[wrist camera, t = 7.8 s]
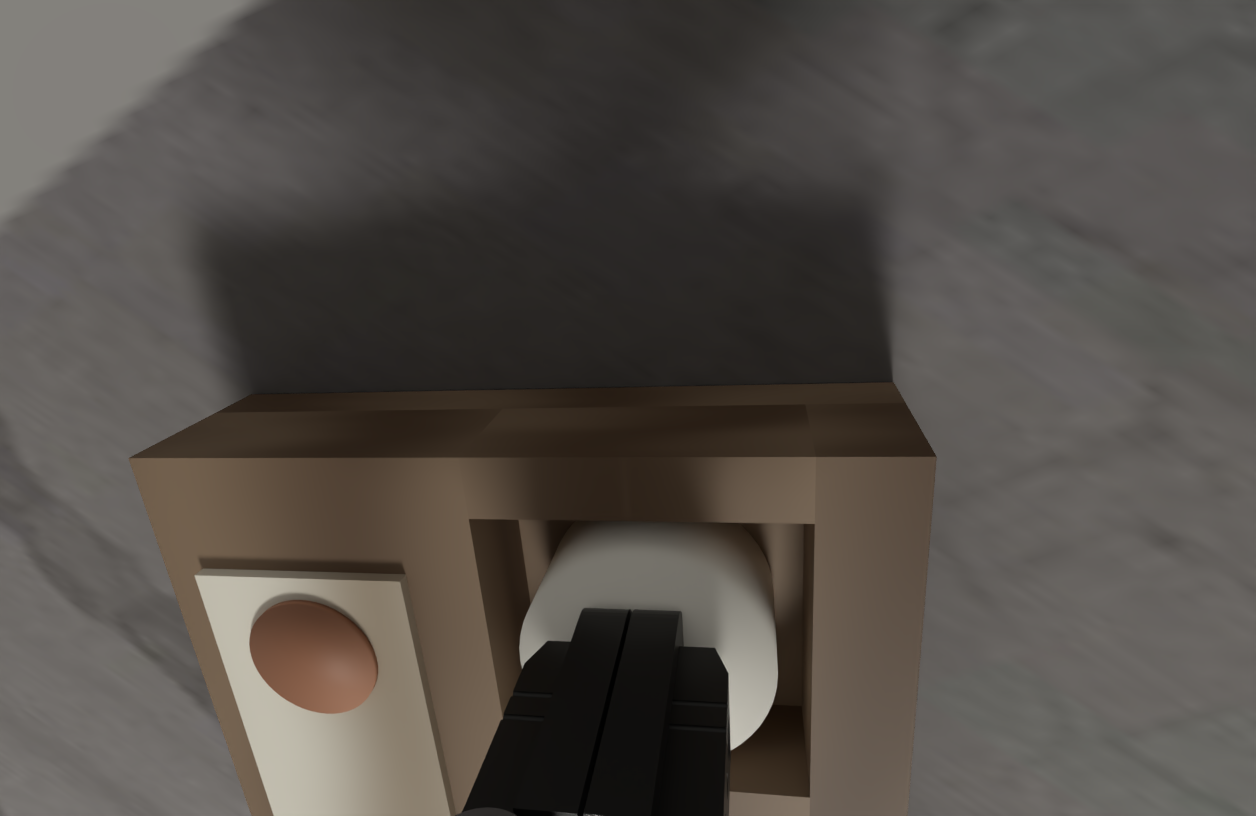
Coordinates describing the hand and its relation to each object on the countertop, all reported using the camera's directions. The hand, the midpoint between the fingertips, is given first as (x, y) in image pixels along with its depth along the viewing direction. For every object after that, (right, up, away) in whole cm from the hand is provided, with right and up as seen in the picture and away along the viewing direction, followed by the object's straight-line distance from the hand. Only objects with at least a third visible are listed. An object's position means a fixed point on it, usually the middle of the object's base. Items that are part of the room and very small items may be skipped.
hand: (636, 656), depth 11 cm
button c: (0, +1, +2) cm, 2 cm away
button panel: (-1, -6, +6) cm, 8 cm away
